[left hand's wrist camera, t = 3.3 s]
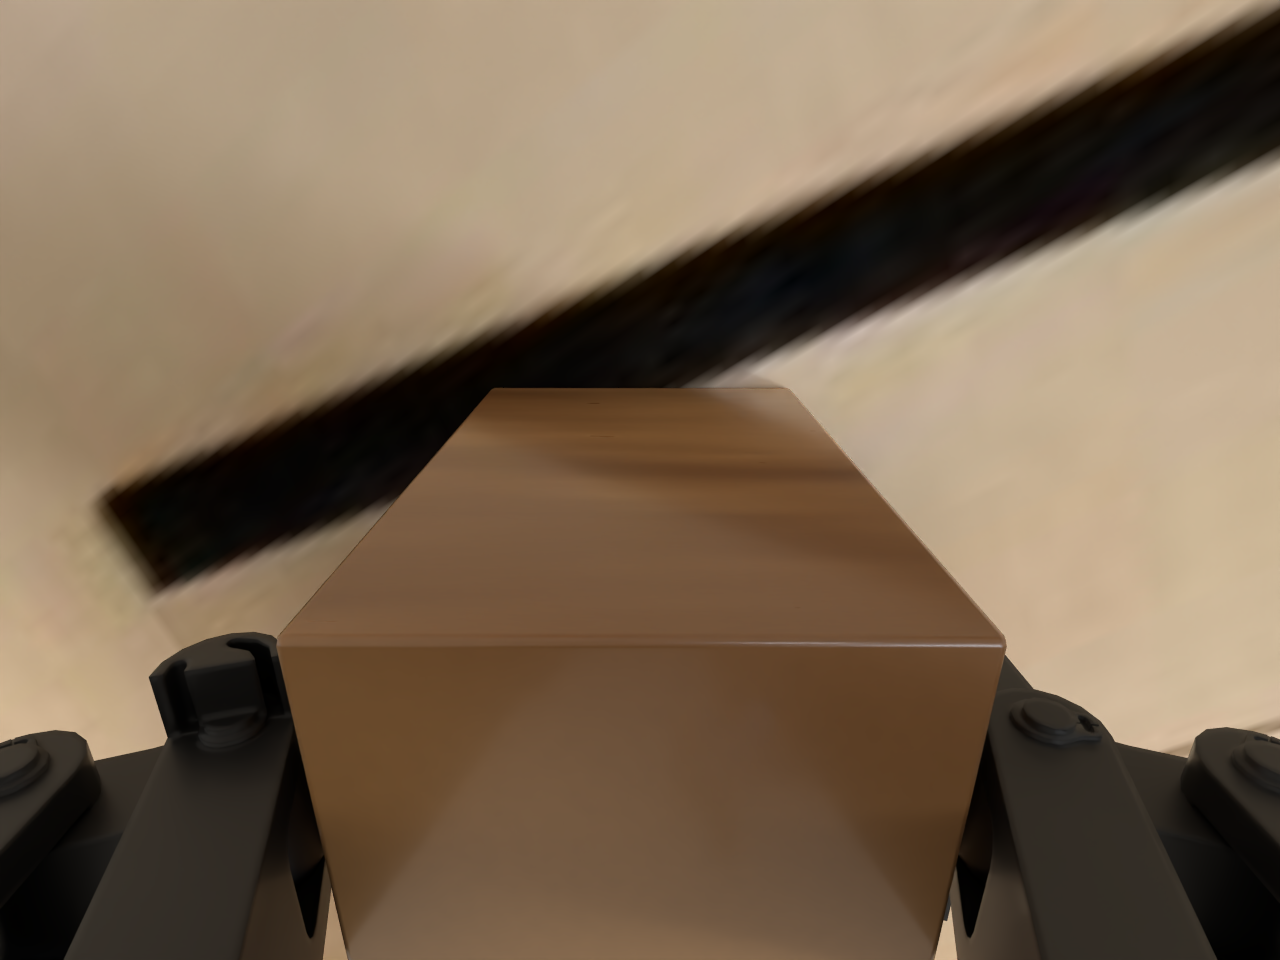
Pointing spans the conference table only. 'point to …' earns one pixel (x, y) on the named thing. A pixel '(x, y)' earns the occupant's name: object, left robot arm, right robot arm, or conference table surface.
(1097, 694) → the conference table surface
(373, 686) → the bar
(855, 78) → the conference table surface
